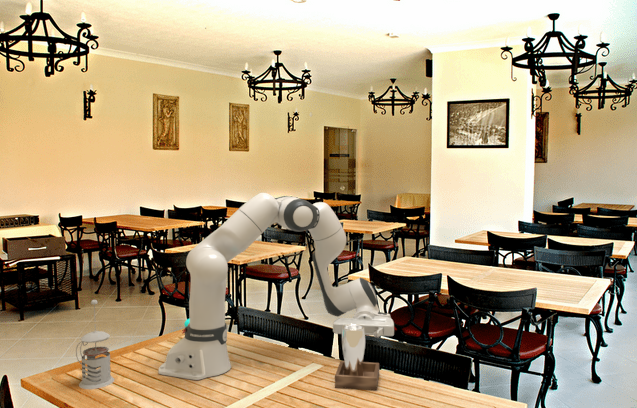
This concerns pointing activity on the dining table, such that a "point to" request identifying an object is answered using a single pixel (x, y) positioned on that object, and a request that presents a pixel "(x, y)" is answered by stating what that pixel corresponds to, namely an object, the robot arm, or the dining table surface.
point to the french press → (95, 360)
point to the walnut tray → (358, 377)
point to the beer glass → (353, 349)
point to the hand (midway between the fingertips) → (361, 334)
